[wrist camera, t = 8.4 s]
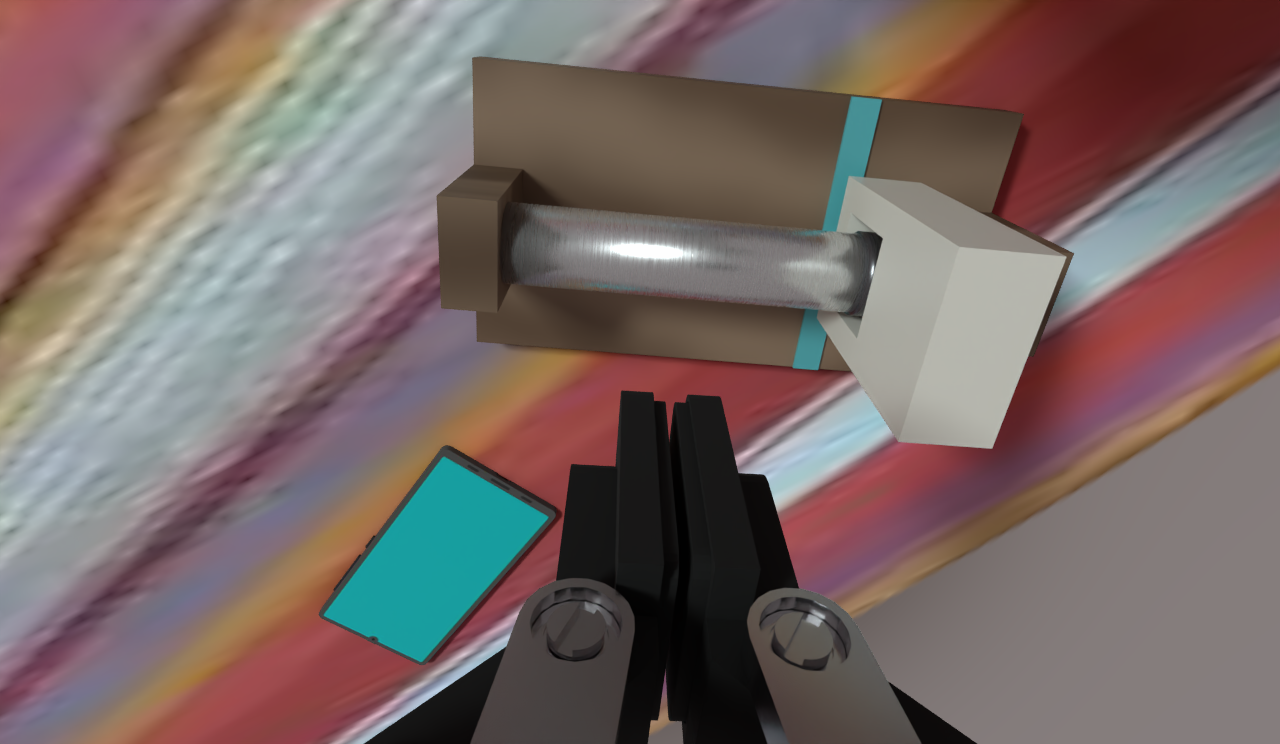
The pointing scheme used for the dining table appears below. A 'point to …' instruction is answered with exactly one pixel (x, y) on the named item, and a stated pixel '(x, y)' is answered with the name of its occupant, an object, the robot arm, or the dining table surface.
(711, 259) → the pipe rig
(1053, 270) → the collar
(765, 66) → the dining table surface
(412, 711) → the robot arm
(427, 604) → the smartphone
